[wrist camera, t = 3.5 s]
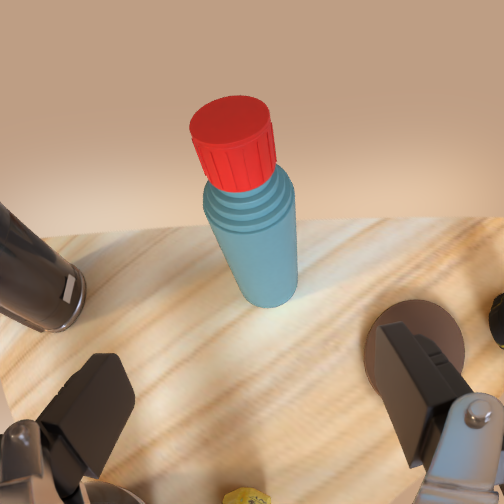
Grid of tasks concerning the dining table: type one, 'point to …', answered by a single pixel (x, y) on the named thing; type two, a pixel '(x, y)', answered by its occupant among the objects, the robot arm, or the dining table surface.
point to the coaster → (419, 332)
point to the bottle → (258, 237)
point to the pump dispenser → (109, 494)
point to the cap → (234, 143)
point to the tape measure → (497, 320)
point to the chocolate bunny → (246, 497)
